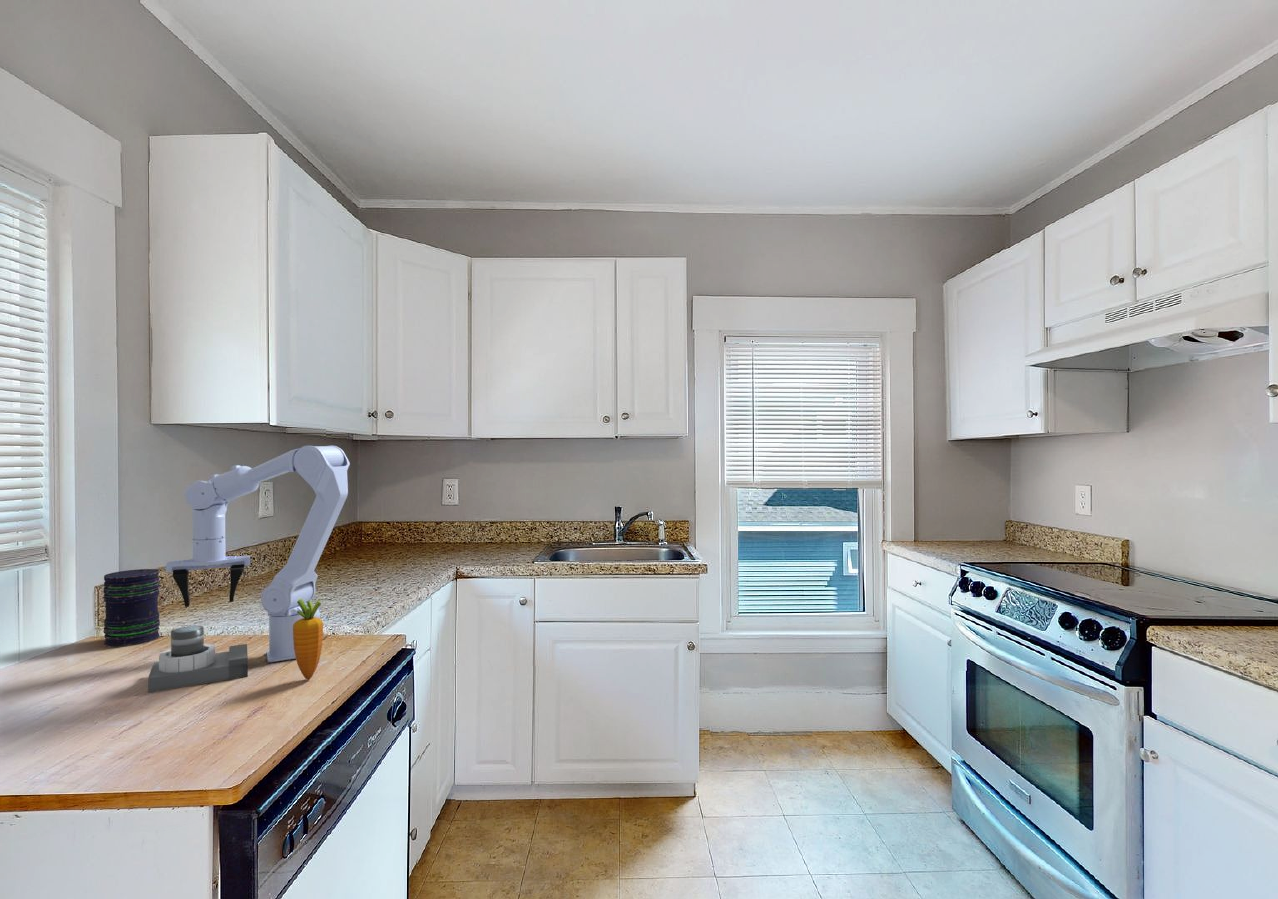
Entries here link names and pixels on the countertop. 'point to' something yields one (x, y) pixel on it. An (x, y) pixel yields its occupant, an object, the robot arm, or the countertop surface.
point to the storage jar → (131, 607)
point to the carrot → (308, 638)
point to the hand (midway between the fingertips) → (209, 603)
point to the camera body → (198, 668)
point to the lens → (187, 641)
